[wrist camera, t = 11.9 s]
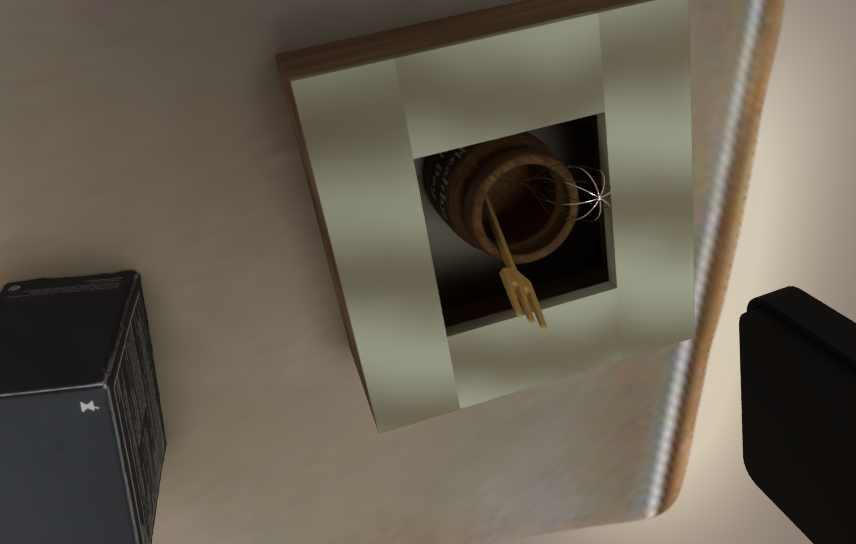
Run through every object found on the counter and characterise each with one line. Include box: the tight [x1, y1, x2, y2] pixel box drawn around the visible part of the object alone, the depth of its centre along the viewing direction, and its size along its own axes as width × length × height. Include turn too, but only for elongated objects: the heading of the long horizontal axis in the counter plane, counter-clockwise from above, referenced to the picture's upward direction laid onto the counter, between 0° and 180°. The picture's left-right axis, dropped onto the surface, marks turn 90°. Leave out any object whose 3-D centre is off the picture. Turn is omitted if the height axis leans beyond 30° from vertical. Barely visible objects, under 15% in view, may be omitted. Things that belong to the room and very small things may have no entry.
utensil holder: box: [424, 131, 613, 329], centre depth 33 cm, size 6×6×12 cm
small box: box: [0, 272, 166, 544], centre depth 33 cm, size 11×6×10 cm, turn 0°
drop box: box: [276, 0, 695, 434], centre depth 35 cm, size 16×16×8 cm
